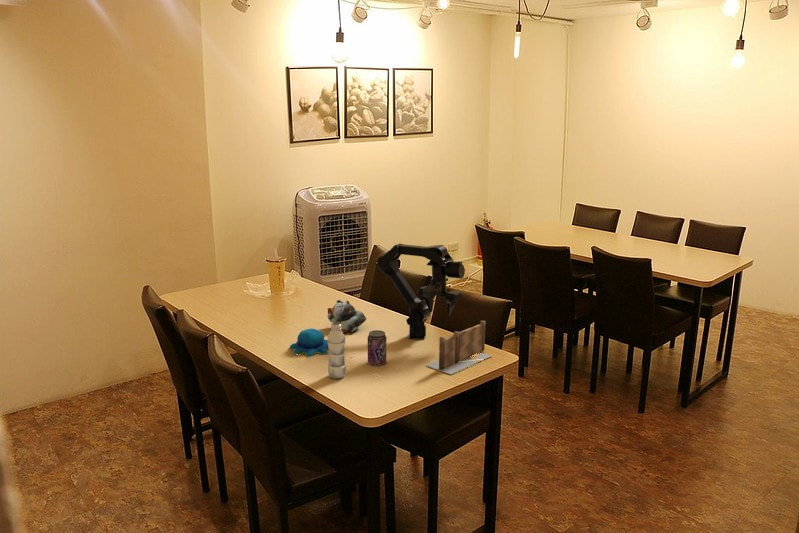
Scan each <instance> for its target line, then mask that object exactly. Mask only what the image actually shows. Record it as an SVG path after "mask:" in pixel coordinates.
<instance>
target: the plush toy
mask: <svg viewBox="0 0 799 533" xmlns="http://www.w3.org/2000/svg"><path fill="white" fill-rule="evenodd" d="M296 339H297V341H296V342H294V343H292V344H290V346H289V349H292V350H291V351H293V354H294V355H295V354H298V355H297V356H300V354H301V355H303V354H305V356H306V357H313V355H314V356H316V354H320V355H322V356H324V355H328V354H329V347H328V341H327V339H325V334H324V332H323V331H321V330H318V329H316V328H313V327H311V328H306V329H303V330H301V331H300V332H299V333H298V335H297V338H296Z"/></svg>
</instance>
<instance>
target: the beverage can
mask: <svg viewBox="0 0 799 533" xmlns="http://www.w3.org/2000/svg"><path fill="white" fill-rule="evenodd" d="M367 363H368V364H370V365H372V366H378V367H379V366H382V365H383V364H386V363H387V336H386V332H385V331H384V330H379V329H378V330H377V329H376V330H371V331H369V332H368V336H367Z"/></svg>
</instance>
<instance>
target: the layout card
mask: <svg viewBox="0 0 799 533" xmlns="http://www.w3.org/2000/svg"><path fill="white" fill-rule="evenodd" d="M482 353H483V354H482ZM477 354H478V353H477ZM491 356H492V355H490V354H487V353H484V352H481V354H480V353H479V357H478V358H479V359H478V358H477V357H476V356H475V357H476V358H477V359H476V358H475V357H474V356H473V357H474V358H475V359H476V360H477V361H476V360H475V359H474V358H473V357H472V356H471V357H472V358H473V359H474V360H473V359H472V358H471V357H467V358H465V359H463V360H460V361H458V363H455V364H453V365H451V366H448V367H446V368H444V369H443V370H441V369H439V359H437V360H436V361H433V362H431V363H428V364H427V365H426V367H427V368H429V369H432V370H436V371H438V372H440V371H441V373H443V372H444V373H443V374H446V373H447V374H446V375H449V374H450V375H449V376H453V375H455V373H456V374H457V372H458V373H459V371H460V372H462V371H464V370H466V369H465V368H467V367H469V366H471V367H473V366H474V364H475V365H477V364H479V363H478V362H480V361H482V360H484V359H486V360H488V359H490V358H489V357H491ZM487 358H488V359H487ZM491 358H492V357H491ZM478 360H479V361H478ZM484 361H485V360H484ZM482 362H483V361H482ZM476 363H477V364H476ZM480 363H481V362H480ZM472 365H473V366H472ZM469 368H470V367H469ZM463 369H464V370H463ZM467 369H468V368H467ZM461 370H462V371H461Z"/></svg>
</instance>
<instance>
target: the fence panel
mask: <svg viewBox="0 0 799 533" xmlns="http://www.w3.org/2000/svg"><path fill="white" fill-rule="evenodd" d="M458 332H459V358H458V361H460V360H463V359H465V358H467V357H470V356H472V355H474V354H476V353H479V352H481V353H482V352H485V344H486V343H485V342H486V341H485V340H486V320H480V321H479V324H476V325H475V326H471V327H469V328H466V329H464V330H461V331H458Z"/></svg>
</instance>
